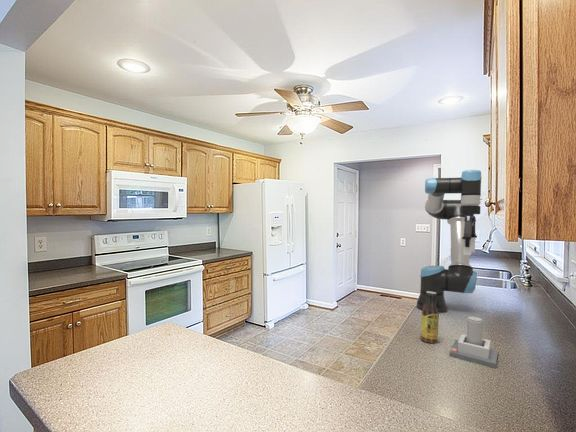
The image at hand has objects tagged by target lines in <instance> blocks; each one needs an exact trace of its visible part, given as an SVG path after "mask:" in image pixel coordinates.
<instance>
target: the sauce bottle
mask: <svg viewBox="0 0 576 432" xmlns="http://www.w3.org/2000/svg"><path fill="white" fill-rule="evenodd" d="M436 297H437V293H436V292H431V291H427V292H426V303H425V305H424V306H423V309H422V310H421V311H422V313H421V326H420V327H421V328H420V339H421V341H423V342H424V343H427V344H435V343H437V342H438V338H439V337H438V335H439V321H440V320H439V319H440V318H439V314H440V313H438V310H437V306H436Z"/></svg>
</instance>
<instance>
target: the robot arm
mask: <svg viewBox="0 0 576 432" xmlns="http://www.w3.org/2000/svg"><path fill="white" fill-rule="evenodd" d="M481 187H482V171H481V170H479V169H467V170H463V171H462V172H461V176H460V177H432V178H431V177H430V178H426V179H425V181H424V192H425V194H427V200H426V202H425V204H424V209H425V211H426V212H427V214H428V215H429V216H430V217H432V218H434V219H436V220H437V219H438V220H447V222H446V223H448V224H449V226H450V257H451V258H450V260H451V262H450V264H449V265H448V266H447V268H445V266H443V265H427V266H423V267H422V268H421V269H420V275H419V276H420V290H419V292H420V293H419V296H418V299H417V301H416V308H417V309H418V308H419V310H420V309H421V311H422V309H423V306H424V305H425V303H426V292H427V291H431V292H436V293H437V297H436V306H437V310H438V312H443V313H446V312H448V305H447V302H446V299H445V296H444V295H445V293H444V292H452V293H460V294H473V293H474V292H475V291H476V287H477V281H478V275H477V271H475V270H474V268H473V266H472V265H471V264H470V257H469V256H472V253H476V251H475V249H476V239H477V238H478V236H477V234H476V222H477V220H476V219H477V218H476V216H475V215H481V206H480V205H481V201H482V200H483V197H481V195H482V193H481V191H482V188H481ZM445 194H461V195H460V199H444V198H445Z"/></svg>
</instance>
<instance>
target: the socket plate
mask: <svg viewBox="0 0 576 432" xmlns="http://www.w3.org/2000/svg"><path fill="white" fill-rule="evenodd" d="M491 341H492V340H490V339H486V338H482V346H478V345H474V344H470V343H467V334H461V335H460V337H459V339H455V340H454V342H453V345H451V346H452V347H451V348H450V350H449V357H452V358H455V359H458V360H461V361H465V362H466V361H467V362H469V363H470V362H471V363H475V364H478V365H481V366H486V367H489V368H493V369H496V368H497V361H498V355H499V349H497V348H493V347H491V346H492V345H491V343H492V342H491Z"/></svg>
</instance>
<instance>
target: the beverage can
mask: <svg viewBox="0 0 576 432" xmlns="http://www.w3.org/2000/svg"><path fill="white" fill-rule="evenodd" d="M483 325H484V321H483V319H482V318H481V317H479V316H471V315H470V316H468V317H467V327H466V328H467V330H466V331H467V333H466V335H467V343H470V344H474V345H478V346H482V339H483V329H484V327H483Z"/></svg>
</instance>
